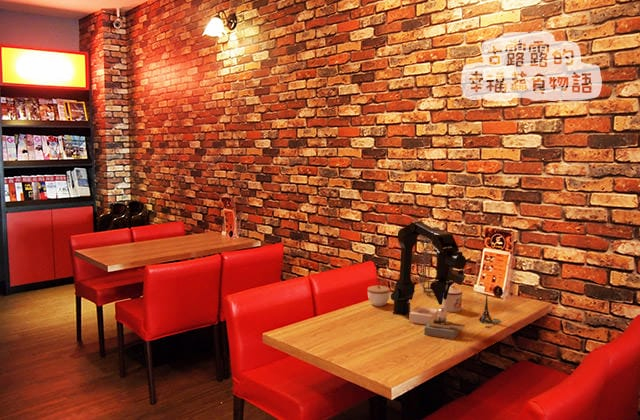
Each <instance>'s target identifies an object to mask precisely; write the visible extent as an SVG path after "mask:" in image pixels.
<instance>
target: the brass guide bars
mask: <svg viewBox="0 0 640 420" xmlns="http://www.w3.org/2000/svg"><path fill="white" fill-rule="evenodd" d="M436 323H439V322H438V319H437V315H432V316H431V317H430V318H429V326H434V327H441V328H447V329H450V328H453V329H460V330H461V331H464V328H465V327H466V324H465V323H464V324H463V323H458V322H454V321H448V320H446V323H444V324H449V325H450V326H449V325H442V324H436Z"/></svg>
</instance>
